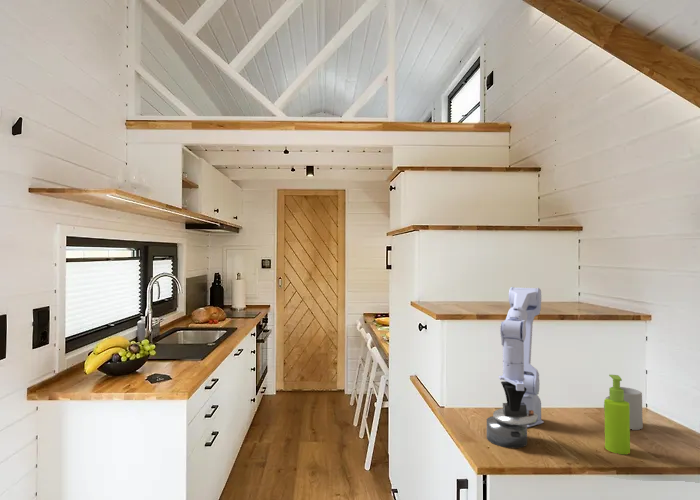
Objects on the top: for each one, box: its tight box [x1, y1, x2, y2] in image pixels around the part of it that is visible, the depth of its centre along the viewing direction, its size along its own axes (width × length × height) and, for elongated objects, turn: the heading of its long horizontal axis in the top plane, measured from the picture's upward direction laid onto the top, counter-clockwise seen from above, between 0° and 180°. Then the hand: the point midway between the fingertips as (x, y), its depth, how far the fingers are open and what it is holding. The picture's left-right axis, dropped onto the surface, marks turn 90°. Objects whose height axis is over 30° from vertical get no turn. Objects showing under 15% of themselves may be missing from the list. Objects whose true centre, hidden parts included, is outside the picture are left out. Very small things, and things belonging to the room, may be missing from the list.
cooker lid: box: [492, 402, 538, 426], centre depth 123 cm, size 12×12×4 cm
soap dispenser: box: [603, 374, 631, 455], centre depth 118 cm, size 6×7×20 cm
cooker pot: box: [486, 415, 528, 449], centre depth 123 cm, size 14×11×5 cm
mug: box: [605, 386, 644, 431], centre depth 135 cm, size 12×8×11 cm
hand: (513, 409), depth 123 cm, fingers closed on cooker lid, 2 cm apart
